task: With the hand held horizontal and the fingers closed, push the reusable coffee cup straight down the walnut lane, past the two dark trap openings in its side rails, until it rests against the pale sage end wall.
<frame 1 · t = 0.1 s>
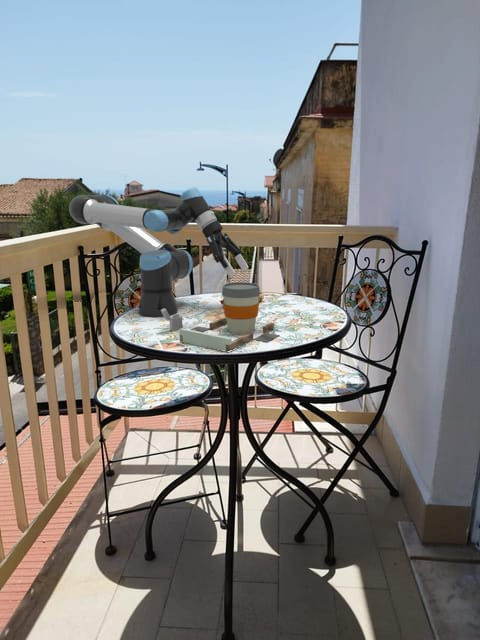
hand: (239, 272, 163), 15 cm above the table, tool tilted 35°, fingers open, 13 cm apart
lighter: (172, 331, 142), on the table
reusable coffee cup: (241, 330, 143), on the table
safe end: (221, 338, 134), on the table
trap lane: (230, 334, 138), on the table
croissant: (243, 305, 178), on the table
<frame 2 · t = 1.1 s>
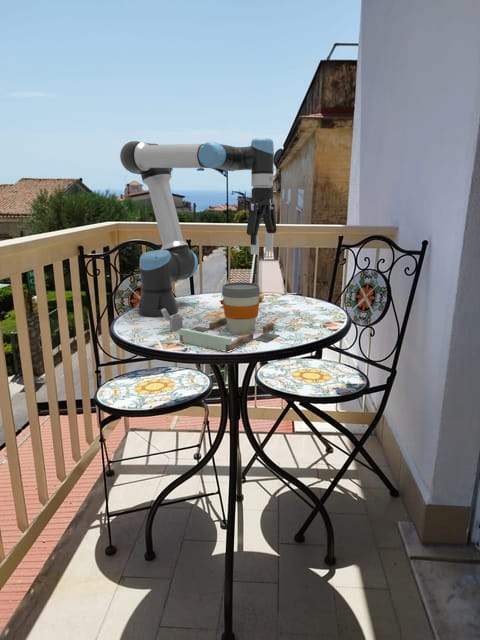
hand: (262, 252, 152), 24 cm above the table, tool pointing down, fingers open, 10 cm apart
nothing on the table moved.
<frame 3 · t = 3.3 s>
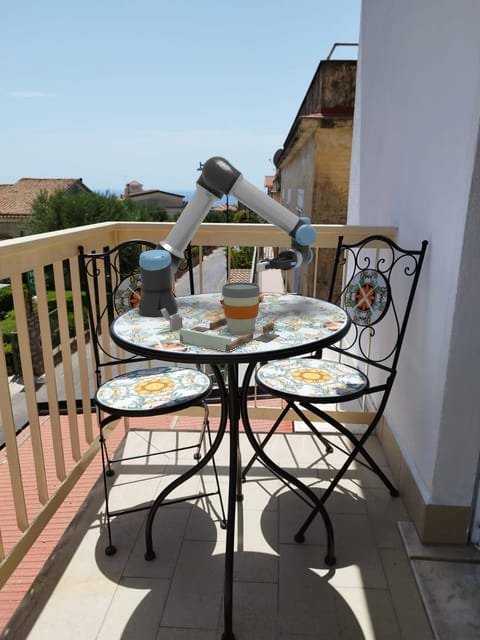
hand: (258, 268, 146), 19 cm above the table, tool horizontal, fingers closed
nothing on the table moved.
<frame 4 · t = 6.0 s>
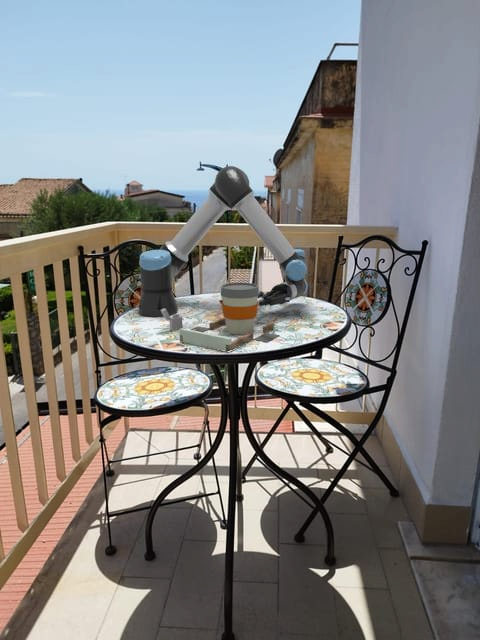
hand: (252, 305, 145), 7 cm above the table, tool horizontal, fingers closed
reusable coffee cup: (240, 330, 142), on the table, touching gripper
everything else where it was.
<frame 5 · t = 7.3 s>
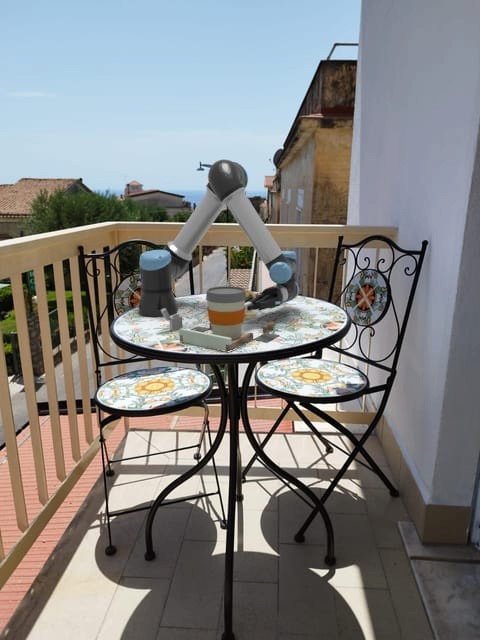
hand: (240, 309, 139), 7 cm above the table, tool horizontal, fingers closed
reusable coffee cup: (226, 336, 136), on the table, touching gripper
everything else where it was.
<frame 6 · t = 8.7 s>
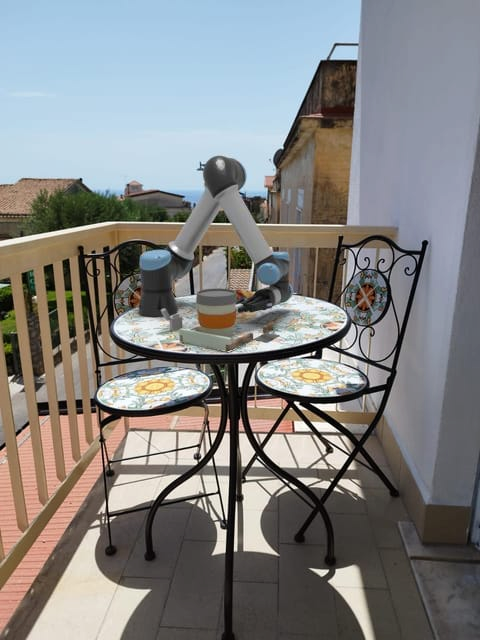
hand: (230, 312, 135), 8 cm above the table, tool horizontal, fingers closed
reusable coffee cup: (217, 339, 133), on the table, touching gripper
everything else where it was.
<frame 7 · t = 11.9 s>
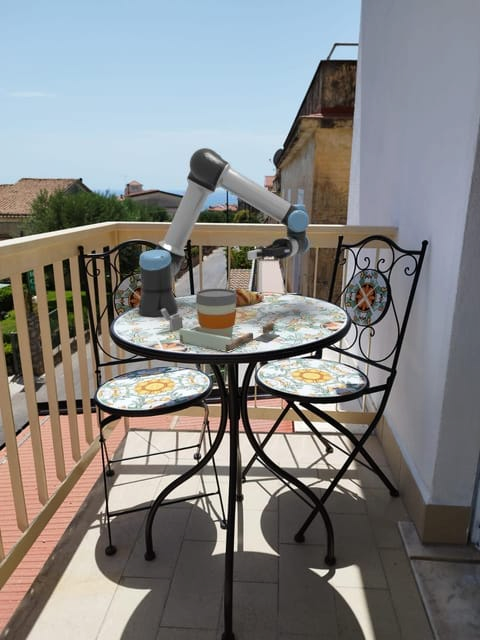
hand: (249, 255, 143), 24 cm above the table, tool horizontal, fingers closed
reusable coffee cup: (217, 340, 133), on the table
everything else where it was.
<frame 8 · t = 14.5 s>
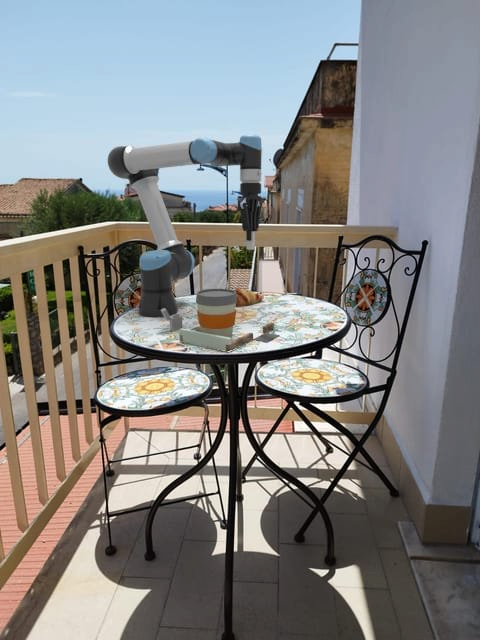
hand: (250, 249, 157), 24 cm above the table, tool pointing down, fingers closed
at the end: reusable coffee cup 1.5 cm from the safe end (horizontally); reusable coffee cup tilted 0° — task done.
